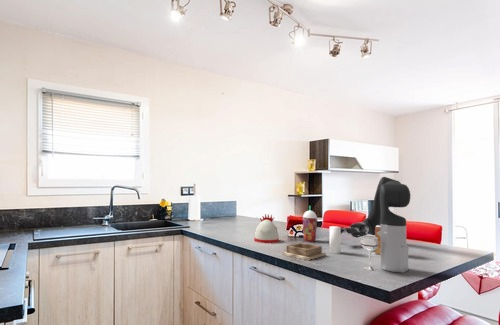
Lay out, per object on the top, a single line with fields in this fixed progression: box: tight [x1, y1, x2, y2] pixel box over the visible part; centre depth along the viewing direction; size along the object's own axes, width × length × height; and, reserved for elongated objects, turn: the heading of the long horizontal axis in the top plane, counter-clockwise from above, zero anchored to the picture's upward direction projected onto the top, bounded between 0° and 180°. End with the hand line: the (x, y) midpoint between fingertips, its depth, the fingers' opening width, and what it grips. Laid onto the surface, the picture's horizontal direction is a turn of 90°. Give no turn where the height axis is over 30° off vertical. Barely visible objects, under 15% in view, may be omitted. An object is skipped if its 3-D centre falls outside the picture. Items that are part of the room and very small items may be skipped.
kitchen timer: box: [253, 213, 280, 244], centre depth 176 cm, size 14×14×15 cm
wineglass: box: [360, 235, 379, 271], centre depth 122 cm, size 7×7×12 cm
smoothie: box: [302, 205, 318, 243], centre depth 177 cm, size 8×8×20 cm
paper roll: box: [328, 225, 342, 255], centre depth 149 cm, size 5×5×12 cm
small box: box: [374, 225, 381, 256], centre depth 148 cm, size 8×6×13 cm
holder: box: [282, 242, 327, 261], centre depth 142 cm, size 14×14×4 cm
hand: (345, 233), depth 158 cm, fingers open, 8 cm apart
